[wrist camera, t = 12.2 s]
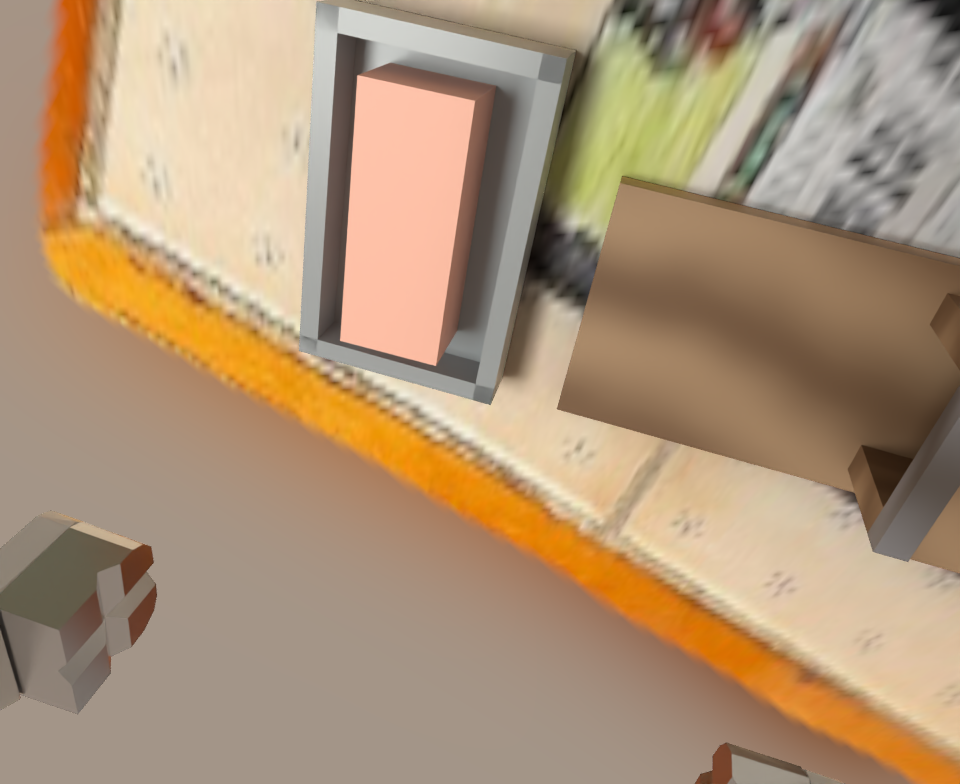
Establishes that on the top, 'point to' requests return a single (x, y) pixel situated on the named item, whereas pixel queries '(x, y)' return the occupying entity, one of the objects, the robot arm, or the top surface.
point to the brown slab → (782, 355)
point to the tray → (503, 191)
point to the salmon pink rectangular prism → (412, 208)
